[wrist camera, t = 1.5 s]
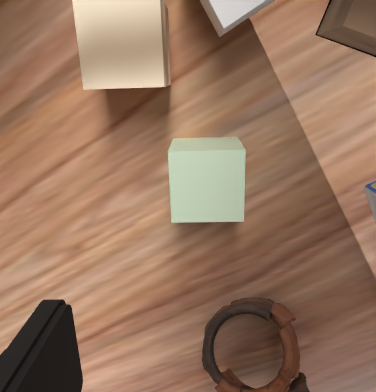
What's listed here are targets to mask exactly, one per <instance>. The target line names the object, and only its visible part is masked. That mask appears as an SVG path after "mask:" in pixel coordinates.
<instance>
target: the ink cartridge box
mask: <svg viewBox="0 0 376 392" xmlns="http://www.w3.org/2000/svg"><path fill="white" fill-rule="evenodd" d="M365 193H366V196H367V199H368V202H369V204H370V207H371V210H372V213H373V215H374V218H375V221H376V181H374V182H372V183H370V184H368V185H366V186H365Z"/></svg>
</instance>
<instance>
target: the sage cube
mask: <svg viewBox="0 0 376 392" xmlns="http://www.w3.org/2000/svg"><path fill="white" fill-rule="evenodd" d="M245 154H246V150H245V148H244V146H243V145H242V143H241V141H240V140H239V138H238V137H209V138H173V141H172V143H171V145H170V148H169V150H168V165H169V184H170V204H171V223H182V222H244V196H245Z"/></svg>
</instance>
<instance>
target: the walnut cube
mask: <svg viewBox="0 0 376 392" xmlns="http://www.w3.org/2000/svg"><path fill="white" fill-rule="evenodd" d="M316 35H317V36H320V37H322V38H325V39H328V40H330V41H333V42H336V43H339V44H341V45H344V46H347V47H349V48H352V49H355V50H358V51H360V52H363V53H366V54H368V55H371V56H374V57H376V0H330V1H329V3H328V6H327V8H326V10H325V13H324V15H323V18H322V20H321V22H320V25H319V27H318V30H317V32H316Z"/></svg>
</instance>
